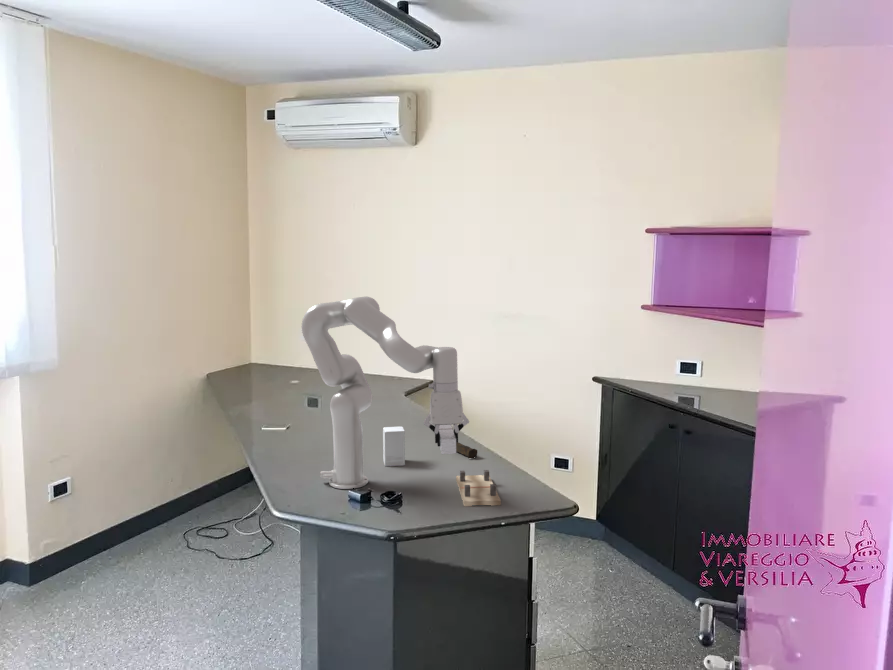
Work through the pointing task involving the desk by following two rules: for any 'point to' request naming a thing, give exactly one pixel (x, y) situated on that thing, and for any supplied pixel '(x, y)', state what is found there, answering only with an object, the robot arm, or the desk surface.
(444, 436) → the light grey long block
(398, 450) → the supplement box
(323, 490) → the desk surface
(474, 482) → the board
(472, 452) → the hand tool
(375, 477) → the desk surface
